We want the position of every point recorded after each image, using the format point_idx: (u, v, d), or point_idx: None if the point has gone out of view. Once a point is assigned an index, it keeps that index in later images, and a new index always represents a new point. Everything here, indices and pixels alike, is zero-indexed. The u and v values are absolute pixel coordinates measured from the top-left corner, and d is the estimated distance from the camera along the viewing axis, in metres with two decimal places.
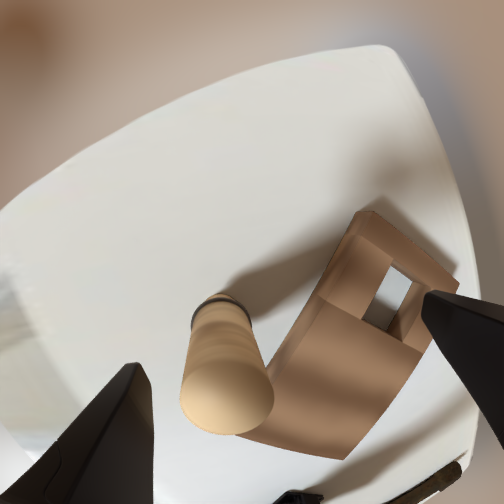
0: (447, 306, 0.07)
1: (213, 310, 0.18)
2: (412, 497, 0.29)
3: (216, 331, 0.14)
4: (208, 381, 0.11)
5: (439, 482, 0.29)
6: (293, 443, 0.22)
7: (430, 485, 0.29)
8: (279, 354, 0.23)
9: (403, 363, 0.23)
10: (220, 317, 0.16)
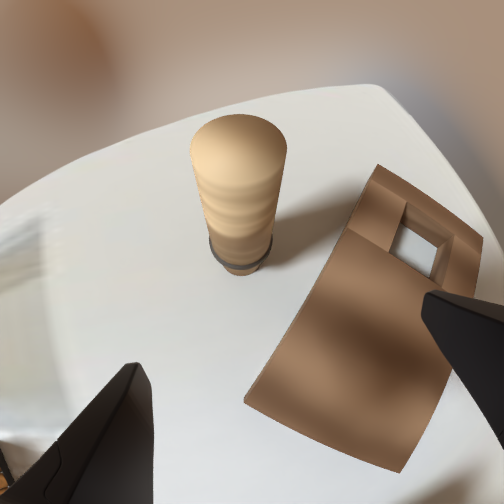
0: (447, 306, 0.07)
1: None
2: None
3: None
4: (223, 127, 0.12)
5: None
6: (327, 429, 0.15)
7: None
8: (304, 302, 0.21)
9: None
10: None
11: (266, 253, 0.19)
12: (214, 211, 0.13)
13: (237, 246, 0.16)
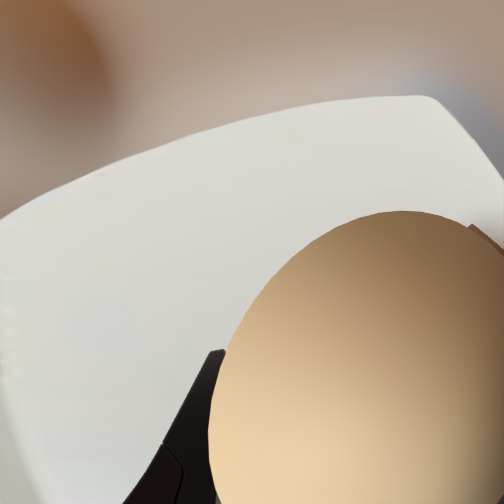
0: None
1: None
2: None
3: None
4: (372, 296, 0.02)
5: None
6: None
7: None
8: None
9: None
10: None
11: None
12: None
13: None
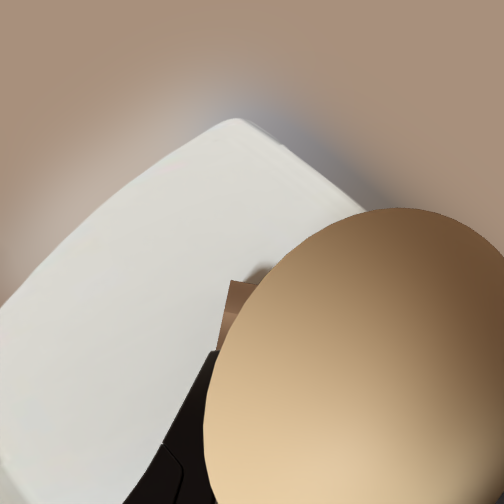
0: None
1: None
2: None
3: None
4: (367, 293, 0.02)
5: None
6: None
7: None
8: None
9: None
10: None
11: None
12: None
13: None
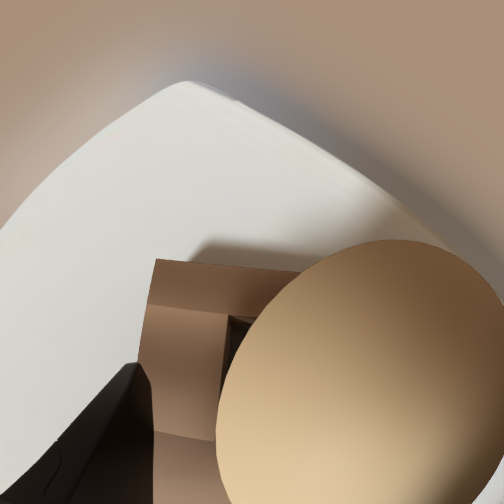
0: None
1: None
2: None
3: None
4: (354, 318, 0.03)
5: None
6: None
7: None
8: None
9: None
10: None
11: None
12: None
13: None
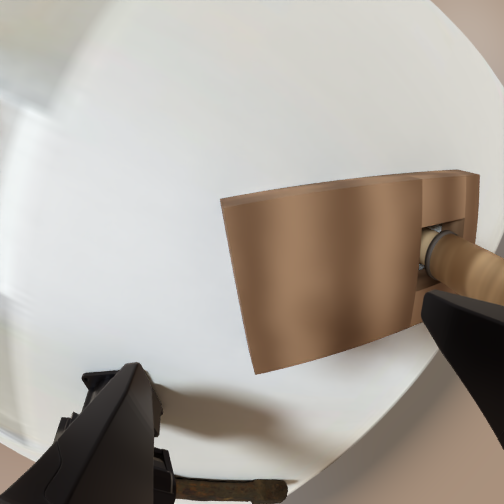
0: (447, 306, 0.07)
1: None
2: (219, 490, 0.30)
3: None
4: None
5: (256, 493, 0.31)
6: (254, 291, 0.18)
7: (245, 490, 0.31)
8: (339, 182, 0.19)
9: (397, 314, 0.21)
10: None
11: (435, 279, 0.20)
12: (490, 283, 0.13)
13: (455, 279, 0.17)
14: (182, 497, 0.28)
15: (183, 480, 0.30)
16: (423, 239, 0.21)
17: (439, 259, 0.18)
